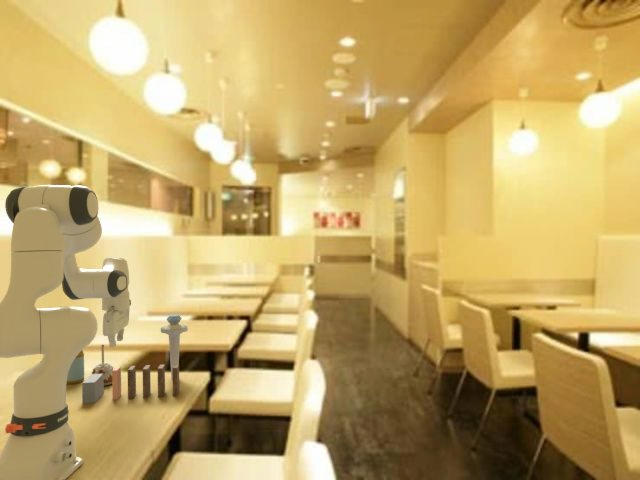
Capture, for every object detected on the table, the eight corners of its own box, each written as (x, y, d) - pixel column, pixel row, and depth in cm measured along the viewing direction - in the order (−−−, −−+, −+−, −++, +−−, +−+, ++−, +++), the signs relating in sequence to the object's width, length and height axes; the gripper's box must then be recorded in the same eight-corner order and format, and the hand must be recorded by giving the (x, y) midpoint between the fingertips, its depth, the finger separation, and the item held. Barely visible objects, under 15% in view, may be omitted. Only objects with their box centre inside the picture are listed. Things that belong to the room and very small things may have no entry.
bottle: (81, 377, 190) (81, 340, 190) (86, 381, 185) (85, 343, 184) (62, 381, 186) (61, 342, 185) (66, 385, 180) (65, 345, 180)
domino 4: (165, 391, 173) (164, 364, 172) (162, 396, 168) (162, 368, 167) (160, 392, 172) (160, 364, 172) (157, 396, 167) (157, 368, 167)
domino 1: (121, 394, 170) (120, 366, 170) (117, 399, 165) (117, 370, 165) (116, 394, 170) (116, 366, 170) (112, 399, 165) (112, 370, 165)
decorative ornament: (87, 386, 180) (86, 346, 179) (102, 380, 187) (102, 341, 187) (103, 388, 177) (103, 347, 177) (118, 381, 185) (118, 343, 184)
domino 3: (150, 392, 172) (150, 365, 172) (147, 397, 167) (147, 368, 167) (145, 393, 172) (145, 365, 171) (143, 397, 167) (142, 369, 166)
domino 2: (136, 393, 171) (135, 365, 171) (132, 398, 166) (132, 369, 166) (131, 393, 171) (130, 365, 171) (127, 398, 166) (127, 369, 166)
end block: (95, 402, 162) (94, 382, 162) (82, 403, 161) (82, 382, 161) (103, 393, 172) (103, 373, 172) (91, 393, 171) (91, 374, 171)
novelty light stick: (187, 373, 194) (186, 312, 194) (188, 381, 185) (187, 316, 184) (161, 376, 191) (160, 313, 191) (161, 383, 182) (160, 318, 181)
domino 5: (179, 391, 173) (179, 363, 173) (177, 395, 168) (177, 367, 168) (174, 391, 173) (174, 363, 173) (172, 396, 168) (172, 367, 168)
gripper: (117, 308, 157) (118, 350, 157) (132, 299, 178) (132, 337, 178) (97, 309, 156) (97, 351, 157) (114, 300, 177) (114, 337, 177)
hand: (116, 343), depth 167 cm, fingers open, 8 cm apart
